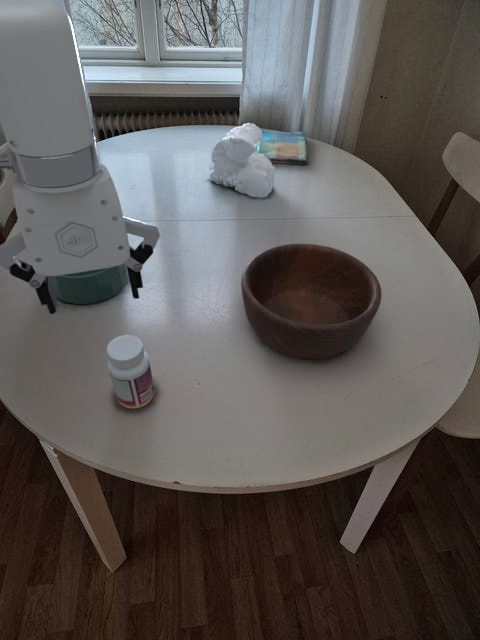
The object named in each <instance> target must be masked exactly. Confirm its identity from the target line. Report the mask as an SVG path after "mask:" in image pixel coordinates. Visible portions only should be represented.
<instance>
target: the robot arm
mask: <svg viewBox="0 0 480 640" xmlns="http://www.w3.org/2000/svg"><path fill="white" fill-rule="evenodd" d="M90 111H91V110H90V106H89V103H88V97H87V92H86V87H85V81H84V76H83V71H82V67H81V62H80V57H79V51H78V47H77V41H76V35H75V32H74V28H73V24H72V21H71V18H70V16H69V14H68V12H67V11H66V10H65V9H64V7H63V6H61V5H60V4H59V3H57V2H55V1H53V0H0V126H1V129H2V131H3V134H4V137H5V141H6V143H7V146H8V147H6V151H5V150H4V151H2V152H1V153H0V170H6V169H7V170H8V171H11V170H12V173H13V174H15V176H14V178H13V181H12V183H11V188H12V190H11V191H12V196H13V203H14V209H15V213H16V217H17V220H18V225H19V228H20V232H18V233H16V235H14V236H12V237H11V238H9V239H7V240H6V241H5V242H3V243H2V244H0V266H1V267H3V269H5V270H7V271H9V274H10V275H11V276H13V277H14V278H17V279H18V280H21V281H24V282H26V283H28V285H29V286H30V288H32V289H35V292H36V295H37V297H38V300H39V302H40V304H41V306H44V305H46V307H47V310H48V312H49V314H50V315H53V314H54V315H55V314H56V313H57V311H58V310H57V308H58V307H57V297H56V295H55V292H54V289H53V286H52V283H51V281H50V278H49V276H59V275H66V274H73V273H79V272H86V271H92V270H98V269H104V268H110V267H115V266H119V265H122V264H125V265H126V266H127V270H128V275H129V280H128V281H129V285H130V289H131V290H130V291H131V294H132V295H131V296H132V298H133V299H135V300H137V299H140V294H139V289H143V288H144V284H143V279H142V273H141V272H142V270H143V268H144V264H146V262H148V260H149V259H150V258H151V257H152V256H153V254H154V249H155V248H156V246H157V244H158V241H159V239H160V236H161V234H160V231H159V228H158V226H157V225H154V224H150V223H146V222H144V221H140V220H137V219H134V218H133V219H132V218H130V217H127V216H124V213H123V210H122V205H121V201H120V197H119V194H118V191H117V188H116V186H115V182H114V180H113V177H112V175H111V173H110V171H109V169H108V167H107V166H106V165H105V164H103V163H101V162H100V157H99V151H98V146H97V142H96V136H95V131H94V126H93V121H92V116H91V112H90ZM128 234H129V235H132V236H136V237H140V238H143V239H142V241H141V242H140V243H139V244H138V245H137V247H136V248H134V247H133V246H131V245H130V241H129V235H128ZM25 249H26V252H27V256H28V258H29V262H30V264H29V263H27V262H26V261H23V260H21V259H19V258H17V257H16V256H17V255H18V254H19V253H21V252H23V251H24V250H25Z"/></svg>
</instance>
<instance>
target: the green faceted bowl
mask: <svg viewBox="0 0 480 640" xmlns="http://www.w3.org/2000/svg"><path fill="white" fill-rule="evenodd" d="M49 278H50V281H51V283H52V286H53V289H54V292H55V295H56V299H59V300H61V301H63V302H65V303H70V304H74V305H85V304H86V305H87V304H88V305H89V304H93V303H99V302H103V301H105V300H107V299H109V298H112V297H114V296H116V295H117V294H119V293H120V292H121V291H123V289H124V288H125V287H126V285H128V283H129V281H130V280H129V275H128V270H127V266H126V265H125V264H122V265H119V266H115V267H110V268H104V269H98V270H92V271H86V272H79V273H73V274H66V275H59V276H49Z"/></svg>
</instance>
